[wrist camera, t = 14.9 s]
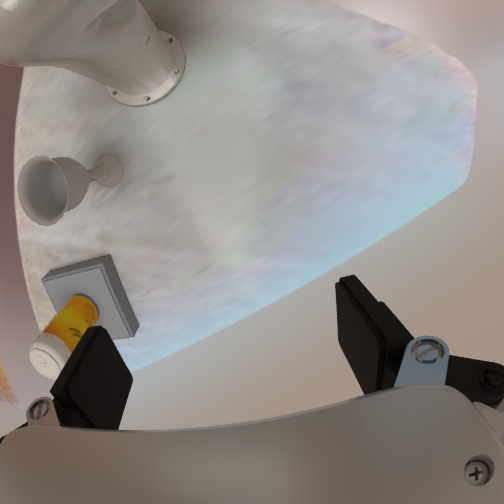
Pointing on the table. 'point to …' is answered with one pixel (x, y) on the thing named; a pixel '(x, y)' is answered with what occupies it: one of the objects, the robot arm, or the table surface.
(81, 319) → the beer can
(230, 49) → the table surface
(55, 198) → the chalice
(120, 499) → the robot arm
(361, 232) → the table surface
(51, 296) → the plinth
